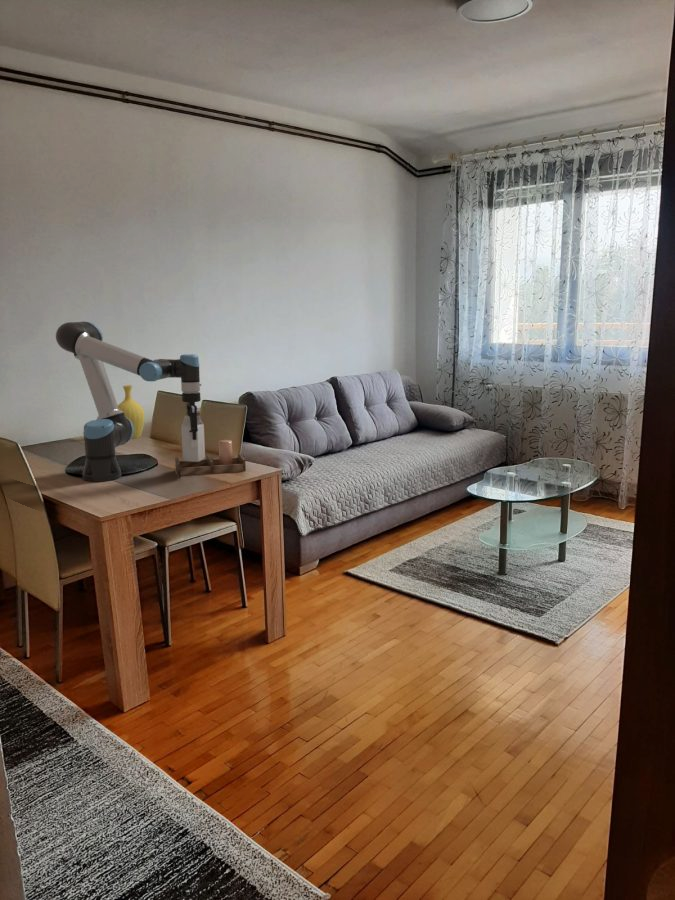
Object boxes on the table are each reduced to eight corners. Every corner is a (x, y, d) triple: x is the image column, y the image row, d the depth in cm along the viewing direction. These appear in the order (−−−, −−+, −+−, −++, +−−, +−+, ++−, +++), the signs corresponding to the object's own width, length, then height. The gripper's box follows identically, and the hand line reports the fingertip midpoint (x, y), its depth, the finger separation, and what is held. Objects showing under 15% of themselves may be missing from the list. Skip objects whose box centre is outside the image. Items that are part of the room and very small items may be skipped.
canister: (220, 470, 282) (219, 442, 279) (218, 467, 287) (217, 440, 284) (233, 469, 283) (232, 442, 281) (231, 466, 288) (230, 439, 286)
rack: (178, 478, 273) (177, 463, 271) (175, 470, 286) (175, 456, 284) (245, 473, 281) (245, 459, 280) (240, 466, 294) (239, 452, 293)
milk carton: (198, 462, 276) (196, 417, 272) (182, 461, 277) (180, 416, 273) (205, 458, 283) (203, 414, 279) (189, 457, 284) (187, 414, 280)
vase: (127, 433, 371) (124, 383, 365) (151, 435, 366) (149, 384, 360) (108, 438, 356) (105, 386, 350) (134, 440, 351) (131, 388, 345)
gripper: (203, 394, 265) (205, 449, 269) (197, 388, 286) (199, 439, 290) (184, 395, 263) (186, 450, 267) (179, 389, 283) (182, 440, 288)
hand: (193, 444), depth 279 cm, fingers closed on milk carton, 9 cm apart
